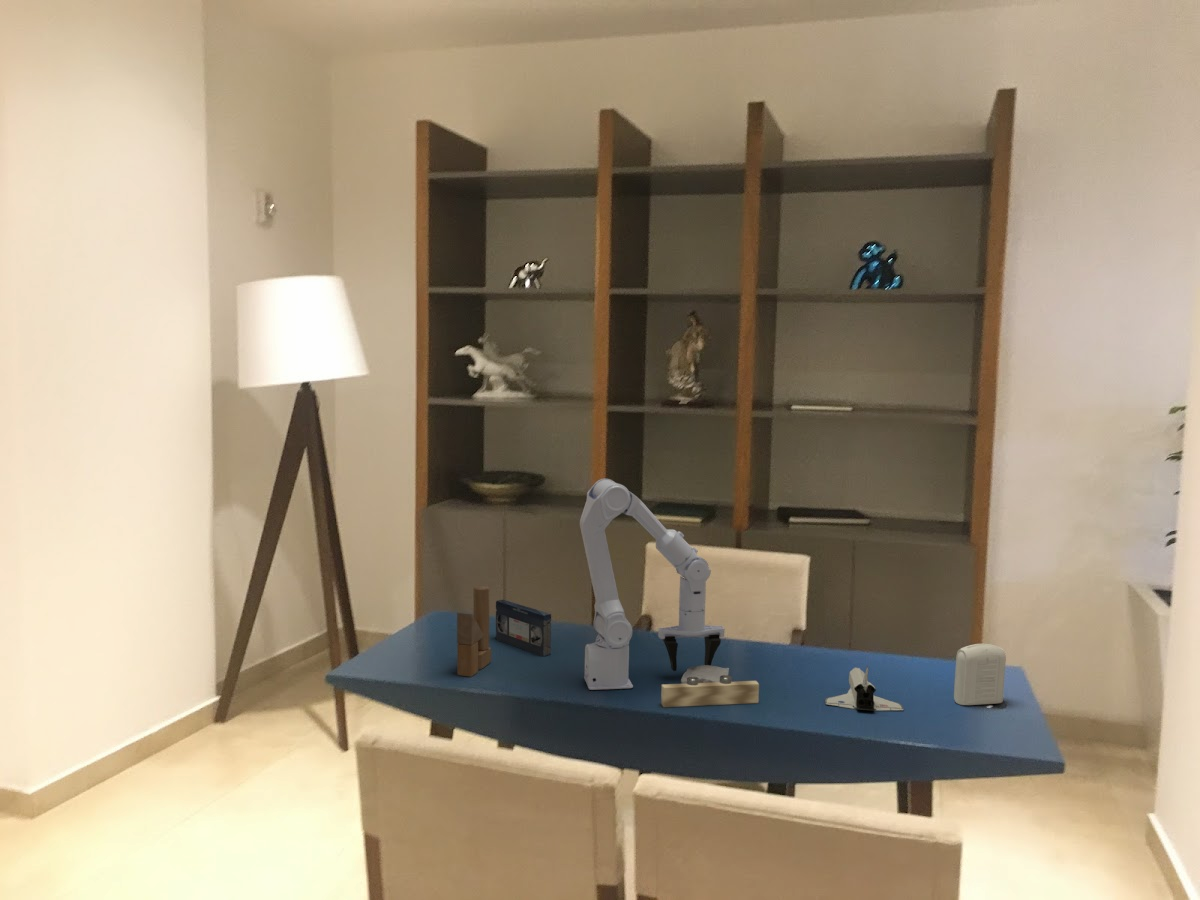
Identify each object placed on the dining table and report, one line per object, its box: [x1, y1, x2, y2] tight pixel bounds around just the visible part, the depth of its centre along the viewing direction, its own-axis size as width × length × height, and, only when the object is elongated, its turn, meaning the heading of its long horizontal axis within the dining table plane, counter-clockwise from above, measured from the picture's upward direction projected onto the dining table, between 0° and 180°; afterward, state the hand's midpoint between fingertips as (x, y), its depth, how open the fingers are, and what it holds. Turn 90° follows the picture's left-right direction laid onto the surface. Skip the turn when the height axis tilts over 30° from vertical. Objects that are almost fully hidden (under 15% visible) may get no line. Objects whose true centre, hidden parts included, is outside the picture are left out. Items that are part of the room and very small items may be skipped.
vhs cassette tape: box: [495, 599, 552, 657], centre depth 229 cm, size 18×3×10 cm, turn 43°
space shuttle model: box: [824, 666, 904, 712], centre depth 201 cm, size 16×25×10 cm, turn 170°
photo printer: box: [953, 643, 1007, 706], centre depth 196 cm, size 10×4×12 cm, turn 103°
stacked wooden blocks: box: [456, 585, 492, 677], centre depth 211 cm, size 4×11×18 cm, turn 163°
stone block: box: [680, 664, 730, 684], centre depth 203 cm, size 12×5×10 cm
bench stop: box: [660, 675, 760, 708], centre depth 194 cm, size 20×3×5 cm, turn 99°
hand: (690, 668), depth 209 cm, fingers open, 7 cm apart
